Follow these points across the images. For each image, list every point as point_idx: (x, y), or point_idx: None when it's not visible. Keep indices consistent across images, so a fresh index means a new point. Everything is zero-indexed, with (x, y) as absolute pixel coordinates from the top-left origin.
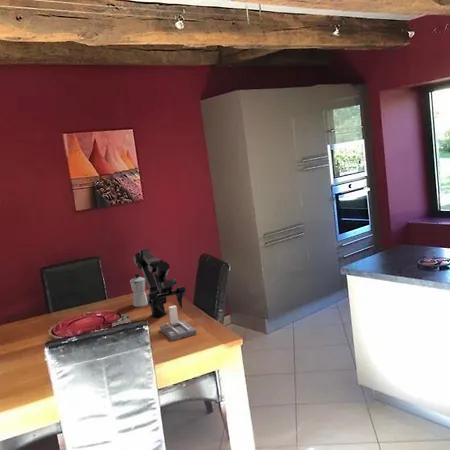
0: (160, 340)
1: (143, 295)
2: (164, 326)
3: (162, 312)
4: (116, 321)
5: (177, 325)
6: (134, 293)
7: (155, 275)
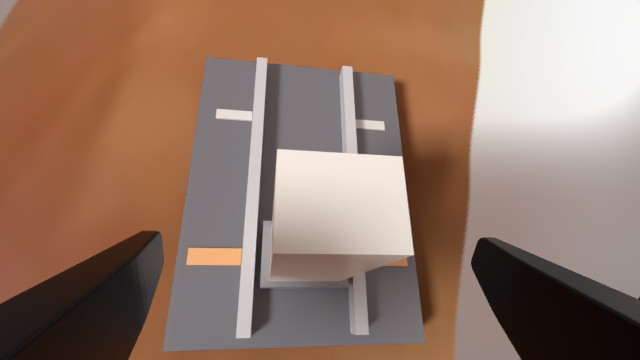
0: (444, 141)
1: None
2: (390, 300)
3: (485, 265)
4: None
5: None
6: None
7: None
